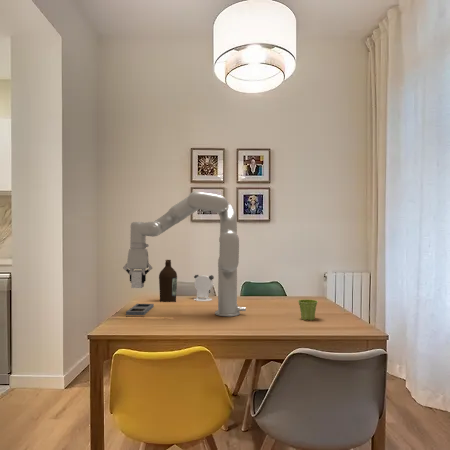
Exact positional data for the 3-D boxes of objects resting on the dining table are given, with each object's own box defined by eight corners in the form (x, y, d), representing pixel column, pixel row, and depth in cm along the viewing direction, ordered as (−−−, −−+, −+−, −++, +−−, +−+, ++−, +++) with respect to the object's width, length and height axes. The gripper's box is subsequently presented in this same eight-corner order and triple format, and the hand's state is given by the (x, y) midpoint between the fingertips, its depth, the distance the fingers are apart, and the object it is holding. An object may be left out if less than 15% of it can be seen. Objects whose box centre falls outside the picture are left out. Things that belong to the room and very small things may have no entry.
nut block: (143, 286, 207) (143, 270, 207) (141, 288, 202) (141, 271, 202) (133, 286, 207) (134, 269, 207) (131, 287, 202) (131, 270, 202)
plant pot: (306, 322, 190) (306, 303, 190) (294, 318, 198) (294, 300, 198) (321, 320, 194) (322, 301, 194) (309, 316, 203) (309, 298, 203)
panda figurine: (215, 298, 254) (215, 274, 254) (210, 301, 243) (210, 276, 243) (196, 297, 257) (196, 273, 257) (191, 300, 246) (191, 275, 246)
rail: (153, 308, 221) (153, 303, 221) (144, 317, 199) (144, 311, 199) (137, 308, 221) (137, 303, 222) (125, 316, 199) (125, 311, 200)
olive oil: (156, 303, 236) (156, 260, 236) (162, 300, 246) (162, 259, 247) (173, 304, 234) (174, 260, 234) (179, 301, 244) (179, 259, 245)
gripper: (156, 246, 208) (156, 282, 208) (123, 246, 209) (123, 281, 209) (153, 246, 201) (152, 283, 200) (119, 246, 201) (118, 283, 201)
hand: (137, 282), depth 205 cm, fingers closed on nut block, 5 cm apart
